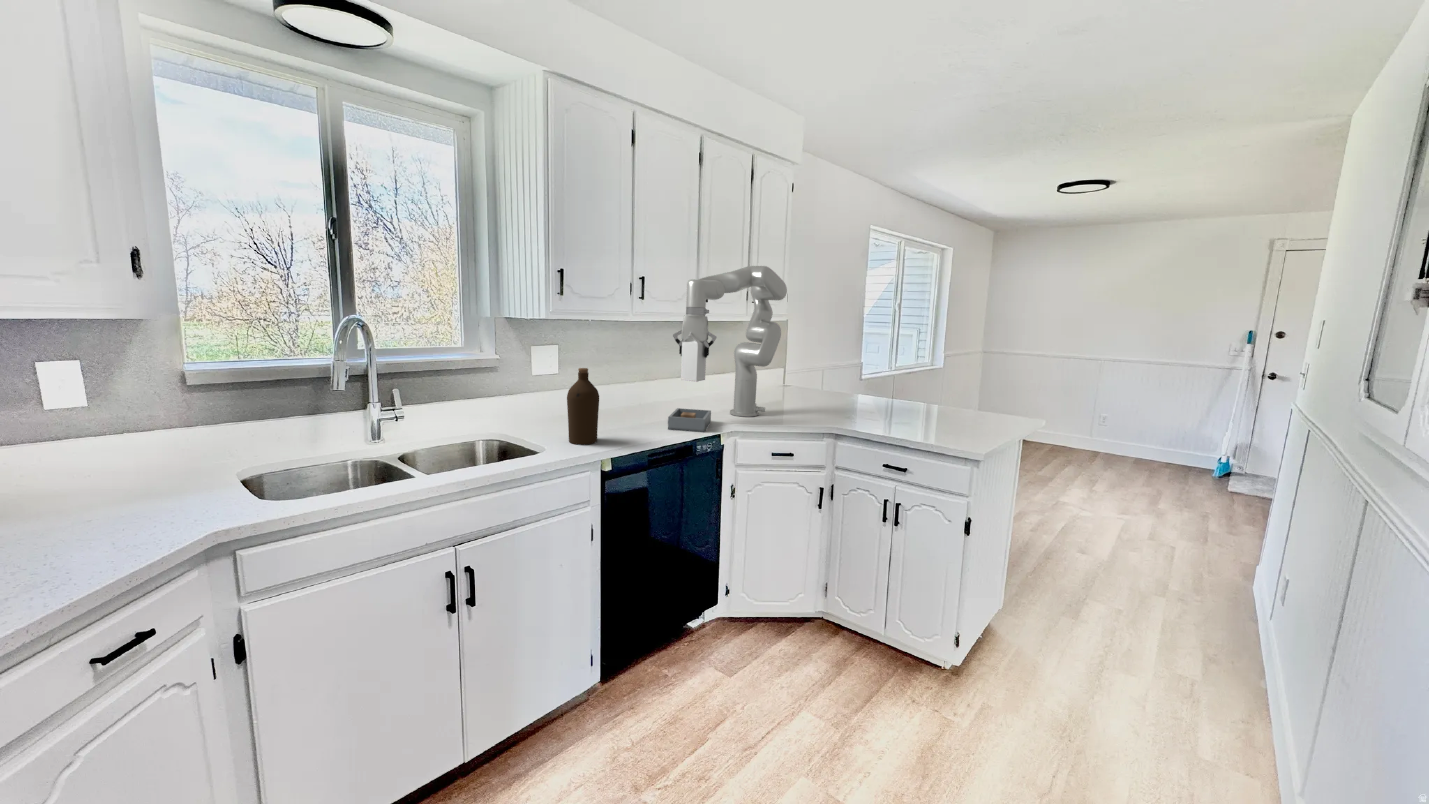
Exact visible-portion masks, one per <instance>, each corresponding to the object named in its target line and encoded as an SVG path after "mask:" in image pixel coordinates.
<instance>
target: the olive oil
mask: <svg viewBox="0 0 1429 804" xmlns="http://www.w3.org/2000/svg"><path fill="white" fill-rule="evenodd" d="M577 377H578V378H577V380H576V381H575V382H574V383H573V385H571V387H570V388H569V389H568V391H567V394H566V404H567V405H566V407H567V421H568V422H567V424H568V442H569V443H570V444H573V445H578V444H581V445H583V446H585V445H592V444H596V443H597V442H598V427H599V426H598V425H599V410H600V395H599V394H600V393H599V390H598V389H597V388H596V387H595V385H594V384H593V383H592V382H591V381H590V380H589V368H588V367H579V368H578V372H577ZM595 442H596V443H595ZM584 444H585V445H584Z"/></svg>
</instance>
